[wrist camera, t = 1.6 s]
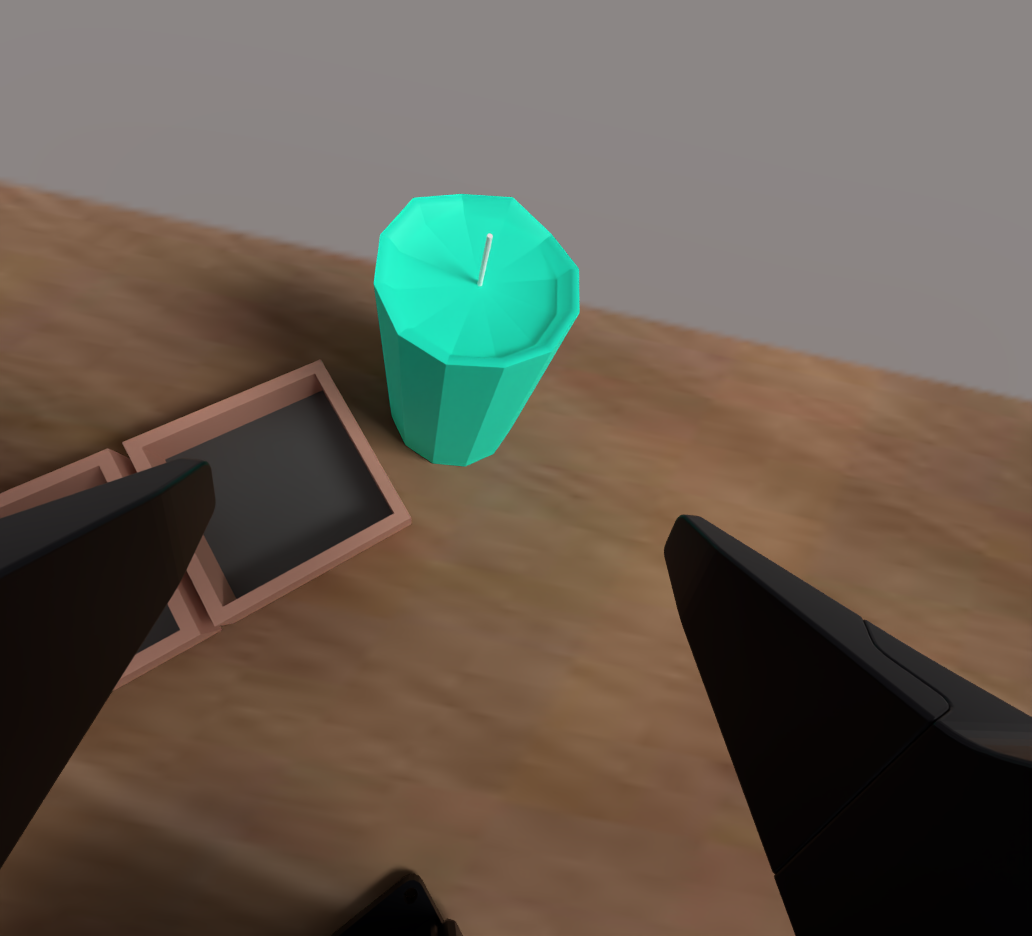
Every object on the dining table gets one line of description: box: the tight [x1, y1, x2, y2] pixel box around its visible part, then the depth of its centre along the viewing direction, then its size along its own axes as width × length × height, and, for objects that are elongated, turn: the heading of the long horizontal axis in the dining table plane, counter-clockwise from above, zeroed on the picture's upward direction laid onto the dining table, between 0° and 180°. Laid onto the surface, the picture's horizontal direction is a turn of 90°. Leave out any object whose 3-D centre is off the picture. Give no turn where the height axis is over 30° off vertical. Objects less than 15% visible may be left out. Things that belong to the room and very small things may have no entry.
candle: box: [374, 194, 579, 466], centre depth 18 cm, size 6×6×12 cm
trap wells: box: [0, 359, 412, 691], centre depth 19 cm, size 16×8×2 cm, turn 122°
